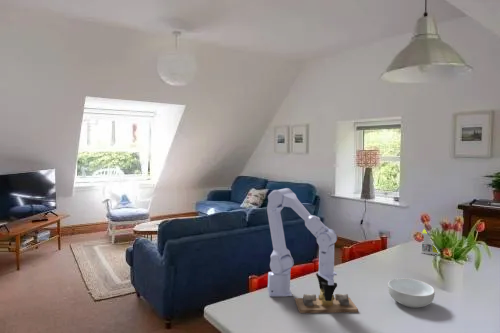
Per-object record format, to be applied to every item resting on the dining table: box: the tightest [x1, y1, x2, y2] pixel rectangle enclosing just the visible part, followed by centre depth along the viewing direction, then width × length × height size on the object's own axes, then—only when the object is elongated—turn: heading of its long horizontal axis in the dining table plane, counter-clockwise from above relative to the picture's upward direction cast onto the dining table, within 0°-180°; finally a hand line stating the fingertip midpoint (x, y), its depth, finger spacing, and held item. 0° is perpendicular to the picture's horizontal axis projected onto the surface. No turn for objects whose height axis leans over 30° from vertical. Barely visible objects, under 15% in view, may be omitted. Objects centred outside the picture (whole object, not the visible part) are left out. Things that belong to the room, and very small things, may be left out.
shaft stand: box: [294, 293, 359, 314], centre depth 137 cm, size 22×10×5 cm, turn 92°
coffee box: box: [420, 228, 438, 256], centre depth 208 cm, size 12×12×12 cm
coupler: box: [318, 288, 335, 306], centre depth 137 cm, size 6×4×5 cm
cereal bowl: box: [387, 277, 436, 309], centre depth 140 cm, size 17×17×7 cm
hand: (325, 296), depth 137 cm, fingers open, 7 cm apart
